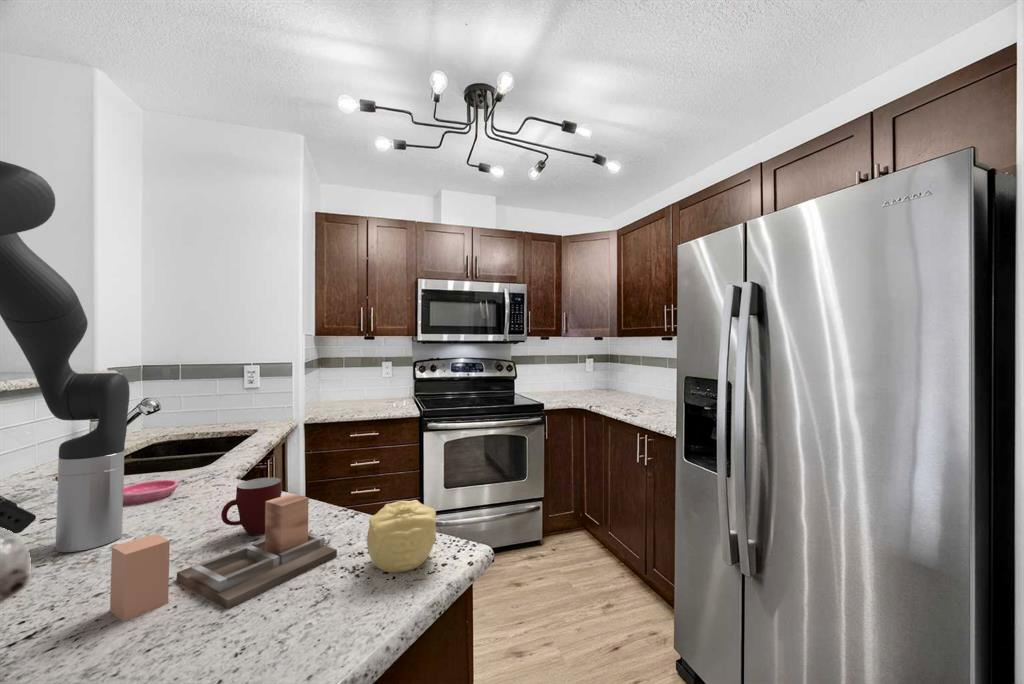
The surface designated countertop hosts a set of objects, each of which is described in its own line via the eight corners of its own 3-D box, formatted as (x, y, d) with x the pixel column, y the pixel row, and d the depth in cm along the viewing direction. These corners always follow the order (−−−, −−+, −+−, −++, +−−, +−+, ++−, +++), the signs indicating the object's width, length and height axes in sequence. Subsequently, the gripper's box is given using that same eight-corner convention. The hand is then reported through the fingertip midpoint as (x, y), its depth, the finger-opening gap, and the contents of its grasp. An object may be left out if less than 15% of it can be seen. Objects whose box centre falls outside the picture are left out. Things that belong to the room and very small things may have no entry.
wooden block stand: (176, 579, 67) (178, 516, 68) (284, 538, 83) (285, 486, 83) (227, 609, 59) (229, 536, 60) (336, 556, 75) (337, 499, 75)
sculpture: (370, 588, 65) (370, 517, 65) (364, 555, 76) (364, 495, 76) (442, 572, 69) (442, 506, 70) (427, 543, 80) (427, 486, 81)
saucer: (189, 492, 113) (189, 480, 113) (139, 508, 101) (139, 495, 101) (154, 489, 116) (154, 478, 116) (101, 504, 104) (101, 492, 104)
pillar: (110, 610, 59) (111, 546, 60) (153, 593, 64) (155, 533, 64) (123, 621, 57) (125, 554, 57) (168, 602, 61) (169, 540, 61)
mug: (229, 548, 79) (230, 494, 79) (215, 537, 84) (216, 487, 84) (287, 530, 87) (288, 481, 87) (271, 520, 92) (272, 475, 92)
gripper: (-96, 413, 40) (69, 499, 50) (-112, 407, 47) (34, 483, 57) (-209, 483, 35) (-4, 563, 45) (-208, 464, 43) (-31, 537, 52)
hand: (18, 518), depth 51 cm, fingers open, 8 cm apart
